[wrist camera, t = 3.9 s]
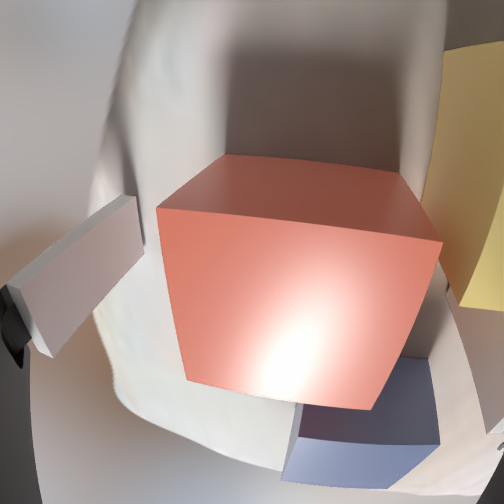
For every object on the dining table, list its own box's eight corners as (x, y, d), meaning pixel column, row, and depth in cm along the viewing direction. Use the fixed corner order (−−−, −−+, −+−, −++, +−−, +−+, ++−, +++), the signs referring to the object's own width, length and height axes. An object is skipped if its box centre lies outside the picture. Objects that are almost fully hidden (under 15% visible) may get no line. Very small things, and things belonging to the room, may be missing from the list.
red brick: (225, 153, 11) (155, 207, 7) (398, 172, 10) (443, 242, 5) (229, 291, 14) (186, 380, 10) (366, 309, 13) (370, 410, 9)
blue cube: (312, 344, 14) (297, 436, 10) (427, 357, 13) (440, 444, 9) (295, 407, 18) (280, 480, 13) (388, 417, 16) (387, 488, 12)
